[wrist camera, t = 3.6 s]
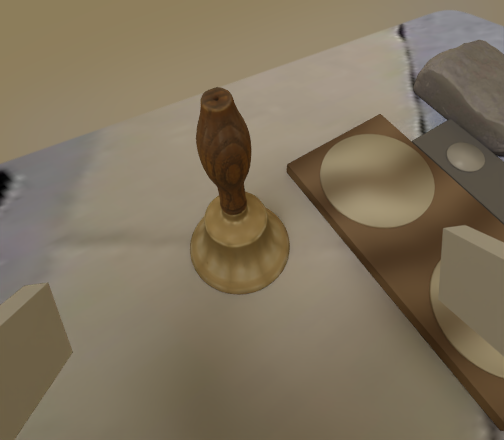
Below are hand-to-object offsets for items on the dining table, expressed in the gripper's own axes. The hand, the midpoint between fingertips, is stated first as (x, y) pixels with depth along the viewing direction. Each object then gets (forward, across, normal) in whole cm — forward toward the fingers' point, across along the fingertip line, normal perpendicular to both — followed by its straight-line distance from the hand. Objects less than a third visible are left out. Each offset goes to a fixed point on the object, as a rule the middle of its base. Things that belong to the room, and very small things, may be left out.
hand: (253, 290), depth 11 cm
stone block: (+24, +26, +4) cm, 36 cm away
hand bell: (+16, -1, -5) cm, 17 cm away
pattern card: (+17, +22, -4) cm, 28 cm away
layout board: (+14, +14, -6) cm, 21 cm away
